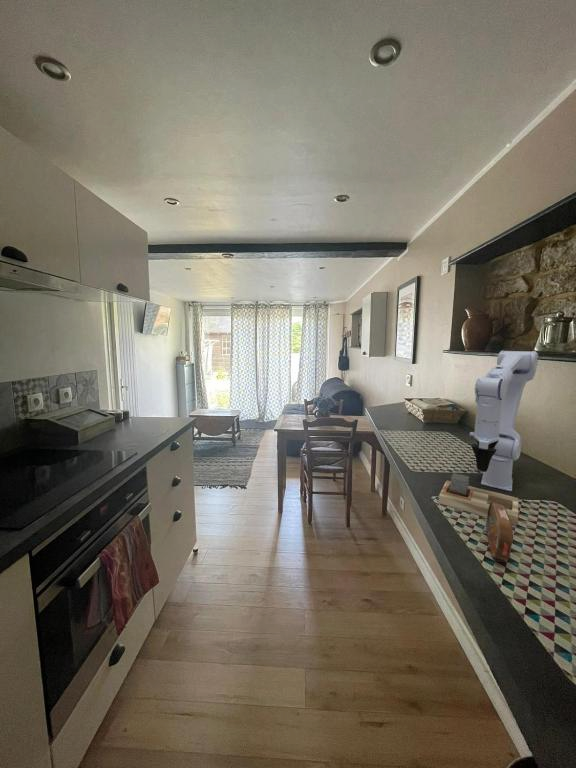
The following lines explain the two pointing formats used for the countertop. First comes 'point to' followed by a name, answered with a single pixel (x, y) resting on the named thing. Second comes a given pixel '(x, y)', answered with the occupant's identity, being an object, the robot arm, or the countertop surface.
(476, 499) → the rail plate
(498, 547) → the tin
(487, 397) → the robot arm
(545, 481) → the countertop surface
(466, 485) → the grey rectangular block
